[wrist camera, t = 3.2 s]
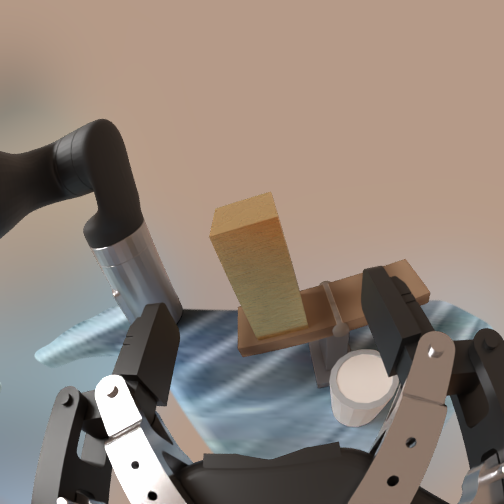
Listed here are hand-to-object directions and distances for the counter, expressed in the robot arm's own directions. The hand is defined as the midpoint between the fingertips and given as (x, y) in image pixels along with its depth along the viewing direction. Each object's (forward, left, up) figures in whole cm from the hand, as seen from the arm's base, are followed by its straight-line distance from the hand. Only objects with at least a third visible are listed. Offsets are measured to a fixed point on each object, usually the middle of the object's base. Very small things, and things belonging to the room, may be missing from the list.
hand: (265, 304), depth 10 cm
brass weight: (+6, +10, -13) cm, 17 cm away
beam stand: (+11, +7, -23) cm, 26 cm away
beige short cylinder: (+8, 0, -23) cm, 24 cm away
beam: (+11, +7, -13) cm, 18 cm away
